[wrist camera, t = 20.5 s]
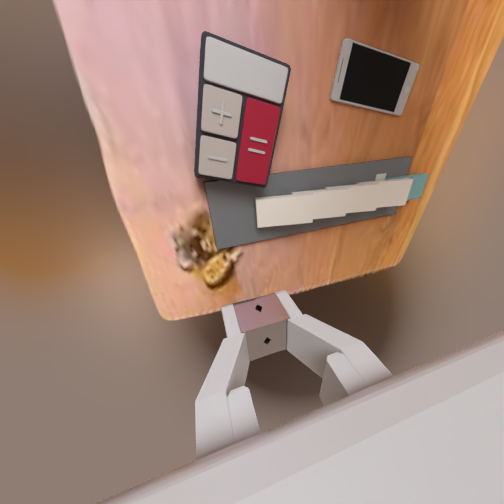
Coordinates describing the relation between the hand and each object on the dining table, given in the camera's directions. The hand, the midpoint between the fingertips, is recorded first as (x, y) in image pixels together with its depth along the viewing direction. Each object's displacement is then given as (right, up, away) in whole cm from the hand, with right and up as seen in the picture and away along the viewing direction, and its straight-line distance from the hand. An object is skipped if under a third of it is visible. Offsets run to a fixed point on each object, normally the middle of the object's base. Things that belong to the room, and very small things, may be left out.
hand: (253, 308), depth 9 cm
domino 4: (+21, +14, +30) cm, 39 cm away
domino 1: (+1, +10, +25) cm, 27 cm away
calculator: (-3, +21, +19) cm, 29 cm away
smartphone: (+20, +31, +23) cm, 43 cm away
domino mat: (+13, +13, +29) cm, 34 cm away
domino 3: (+14, +12, +28) cm, 34 cm away
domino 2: (+7, +11, +27) cm, 30 cm away
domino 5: (+28, +15, +31) cm, 44 cm away
